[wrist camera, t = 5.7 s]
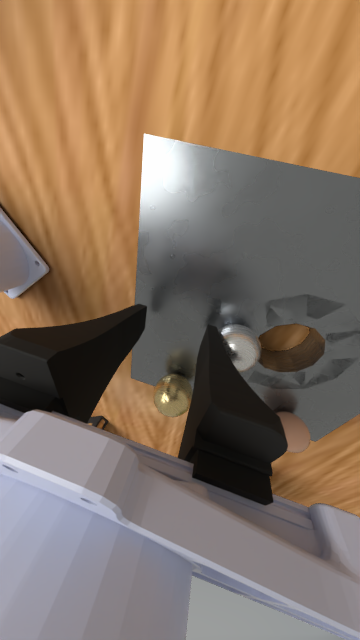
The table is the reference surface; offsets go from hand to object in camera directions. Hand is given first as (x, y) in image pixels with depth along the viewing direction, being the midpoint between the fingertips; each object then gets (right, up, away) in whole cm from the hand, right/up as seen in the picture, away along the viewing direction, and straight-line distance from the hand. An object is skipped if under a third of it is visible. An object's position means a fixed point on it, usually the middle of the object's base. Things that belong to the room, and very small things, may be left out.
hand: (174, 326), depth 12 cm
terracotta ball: (+10, -9, +3) cm, 14 cm away
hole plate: (+7, 0, +3) cm, 7 cm away
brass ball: (0, -6, +3) cm, 7 cm away
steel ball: (+4, -1, -1) cm, 4 cm away
